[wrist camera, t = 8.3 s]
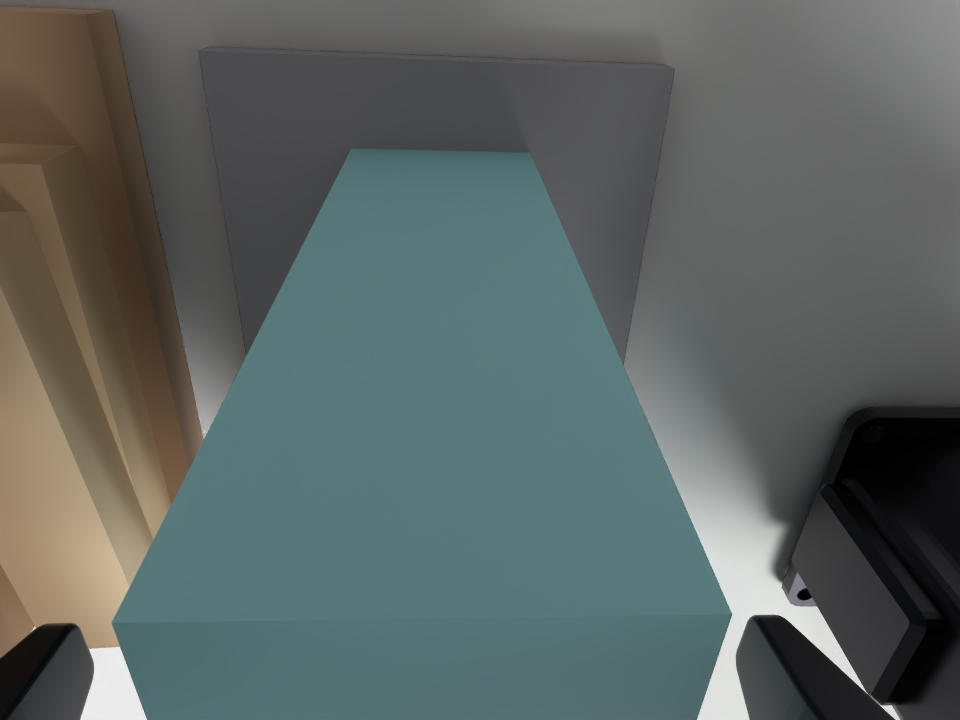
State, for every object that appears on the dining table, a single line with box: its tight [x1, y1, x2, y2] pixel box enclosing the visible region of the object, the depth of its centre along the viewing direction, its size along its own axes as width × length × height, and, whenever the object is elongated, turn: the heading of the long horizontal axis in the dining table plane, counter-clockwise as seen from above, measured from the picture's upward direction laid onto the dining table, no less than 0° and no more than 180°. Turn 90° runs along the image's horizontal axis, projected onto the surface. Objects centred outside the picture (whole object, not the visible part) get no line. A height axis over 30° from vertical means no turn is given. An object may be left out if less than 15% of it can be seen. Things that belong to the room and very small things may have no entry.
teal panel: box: [112, 148, 732, 720], centre depth 10 cm, size 3×10×10 cm, turn 178°
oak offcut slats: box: [0, 143, 171, 648], centre depth 13 cm, size 3×10×2 cm, turn 178°
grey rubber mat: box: [198, 47, 675, 364], centre depth 15 cm, size 8×13×1 cm, turn 178°
